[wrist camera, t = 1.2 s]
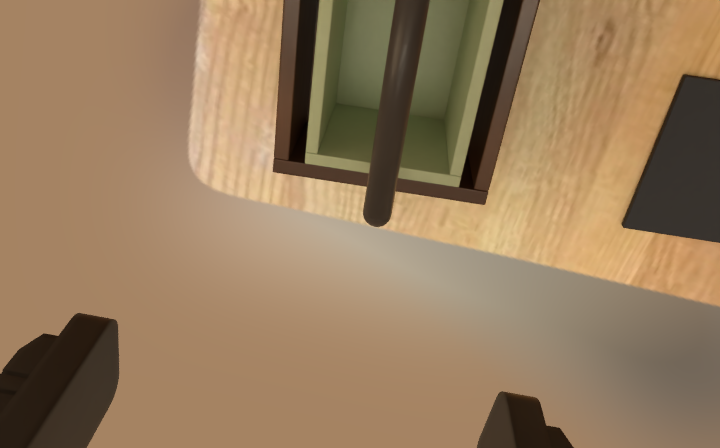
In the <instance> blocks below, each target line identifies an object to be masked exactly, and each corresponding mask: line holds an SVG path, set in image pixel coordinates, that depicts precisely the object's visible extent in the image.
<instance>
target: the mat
mask: <svg viewBox="0 0 720 448" xmlns="http://www.w3.org/2000/svg"><path fill="white" fill-rule="evenodd" d="M622 226H623V228H628V229H635V230H641V231H648V232H654V233H661V234H667V235H673V236H680V237H686V238H693V239H699V240H706V241H712V242H718V243H720V80H717V79H710V78H703V77H697V76H690V75H683V77H682V79H681V82H680V84H679V87H678V89H677V92H676V94H675V96H674V99H673V101H672V104H671V106H670V109H669V111H668V114H667V116H666V118H665V121H664V123H663V126H662V128H661V131H660V133H659V135H658V138H657V140H656V143H655V145H654V148H653V150H652V152H651V155H650V157H649V160H648V162H647V165H646V167H645V169H644V172H643V174H642V177H641V179H640V182H639V184H638V187H637V189H636V191H635V194H634V196H633V199H632V201H631V204H630V206H629V208H628V211H627V213H626V216H625V218H624V221H623V223H622Z"/></svg>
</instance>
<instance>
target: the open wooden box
mask: <svg viewBox="0 0 720 448" xmlns="http://www.w3.org/2000/svg"><path fill="white" fill-rule="evenodd" d="M539 2H540V0H504V1H503V6H502V10H501V14H500V18H499V22H498V26H497V31H496V35H495V39H494V43H493V47H492V51H491V56H490V60H489V64H488V68H487V72H486V76H485V80H484V85H483V89H482V93H481V97H480V101H479V105H478V110H477V114H476V118H475V122H474V126H473V130H472V135H471V139H470V143H469V147H468V151H467V155H466V159H465V164H464V168H463V172H462V175H461V180H460V185H459V187H453V186H447V185H440V184H434V183H427V182H421V181H415V180H408V179H402V178H398V180H397V186H396V191H398V192H405V193H411V194H418V195H424V196H430V197H437V198H443V199H450V200H456V201H463V202H469V203H475V204H482V205H485V203H486V199H487V195H488V190H489V187H490V183H491V180H492V176H493V172H494V169H495V165H496V161H497V157H498V154H499V150H500V146H501V143H502V139H503V135H504V131H505V128H506V124H507V120H508V117H509V113H510V109H511V106H512V102H513V98H514V94H515V91H516V87H517V83H518V80H519V76H520V72H521V68H522V65H523V61H524V57H525V54H526V50H527V46H528V43H529V39H530V35H531V31H532V28H533V24H534V20H535V17H536V13H537V9H538V5H539ZM318 11H319V0H284V6H283V22H282V38H281V54H280V70H279V86H278V102H277V118H276V134H275V150H274V164H273V172H276V173H283V174H289V175H295V176H302V177H308V178H315V179H321V180H328V181H334V182H340V183H347V184H353V185H360V186H366V187H367V183H368V176H369V173H363V172H357V171H350V170H344V169H337V168H331V167H325V166H318V165H312V164H306V163H305V153H306V143H307V132H308V121H309V110H310V99H311V88H312V77H313V66H314V55H315V44H316V33H317V22H318Z"/></svg>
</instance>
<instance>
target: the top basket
mask: <svg viewBox="0 0 720 448" xmlns="http://www.w3.org/2000/svg"><path fill="white" fill-rule="evenodd" d="M503 1H504V0H319V11H318V22H317V33H316V44H315V55H314V66H313V77H312V88H311V99H310V110H309V121H308V132H307V143H306V153H305V163H306V164H312V165H318V166H325V167H331V168H337V169H344V170H350V171H357V172H363V173H369V176H368V183H367V189H366V196H365V202H364V209H363V216H364V219H365V220H366V222H367V223H368V224H370V225H371V226H375V227H380V226H383V225H385V224H386V223H387V222H388V221H389V220H390V217H391V213H392V208H393V202H394V197H395V191H396V186H397V180H398V178H402V179H408V180H415V181H421V182H427V183H434V184H440V185H447V186H453V187H459V185H460V180H461V175H462V172H463V168H464V164H465V159H466V155H467V151H468V147H469V143H470V139H471V135H472V130H473V126H474V122H475V118H476V114H477V110H478V105H479V101H480V97H481V93H482V89H483V85H484V80H485V76H486V72H487V68H488V64H489V60H490V56H491V51H492V47H493V43H494V39H495V35H496V31H497V26H498V22H499V18H500V14H501V10H502V6H503Z"/></svg>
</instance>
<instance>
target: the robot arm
mask: <svg viewBox="0 0 720 448" xmlns="http://www.w3.org/2000/svg"><path fill="white" fill-rule="evenodd" d="M118 379H119V348H118V324H117V321H116V320H114V319H109V318H104V317H98V316H93V315H87V314H81V313H77V314H76V315H74V316H73V318H72V319H71V320H70V321H69V323H68V324H67V325H66V327H65V328H64V329H63V331H62V332H61V333H60V335H59V336H55V335H50V334H42V335H41V336H39V337H38V338H36V339H34V340H33V341H31V342H30V343H28V344H27V345H25V346H24V347H22V348H21V349H19V350H18V351H17V353H16V354H15V355H14V356H13V358H12V359H11V360H10V361H9V362H8V364H7V365H6V366H5V367H4V369H3V372H2V374H0V448H87V446H88V444H89V442H90V440H91V439H92V437H93V435H94V433H95V432H96V430H97V428H98V426H99V424H100V422H101V421H102V419H103V417H104V415H105V413H106V412H107V410H108V408H109V406H110V404H111V402H112V400H113V398H114V395H115V392H116V389H117V384H118ZM477 448H574V447H573V446H572V445H571V443H570V442H569V441H568V439H567V438H566V436H565V435H564V433H563V432H562V431H561V429H560V428H557V427H551V426H546V424H545V420H544V416H543V412H542V408H541V404H540V402H539V400H538V399H537V398H535V397H530V396H524V395H518V394H513V393H508V392H500V393H499V394H498V396H497V398H496V400H495V402H494V405H493V407H492V410H491V412H490V414H489V417H488V419H487V421H486V424H485V426H484V429H483V431H482V433H481V436H480V438H479V441H478V445H477Z"/></svg>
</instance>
